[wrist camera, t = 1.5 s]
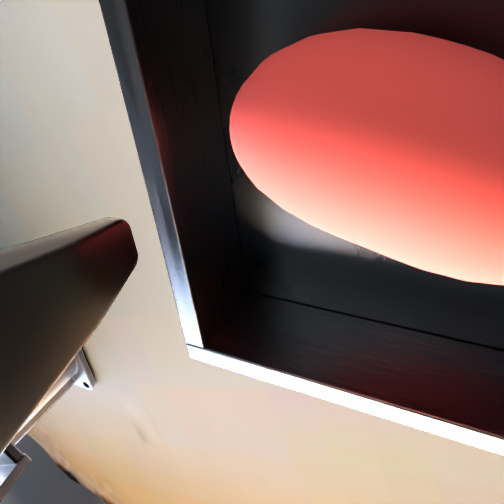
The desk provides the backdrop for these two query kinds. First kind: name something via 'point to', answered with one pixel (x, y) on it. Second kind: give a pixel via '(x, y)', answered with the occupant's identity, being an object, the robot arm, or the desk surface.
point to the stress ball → (383, 145)
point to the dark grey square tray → (299, 224)
